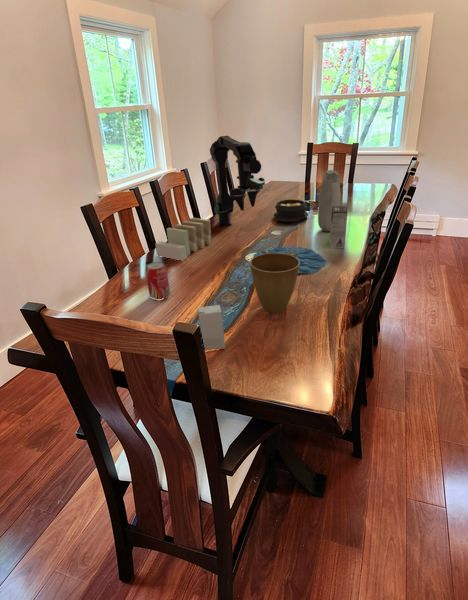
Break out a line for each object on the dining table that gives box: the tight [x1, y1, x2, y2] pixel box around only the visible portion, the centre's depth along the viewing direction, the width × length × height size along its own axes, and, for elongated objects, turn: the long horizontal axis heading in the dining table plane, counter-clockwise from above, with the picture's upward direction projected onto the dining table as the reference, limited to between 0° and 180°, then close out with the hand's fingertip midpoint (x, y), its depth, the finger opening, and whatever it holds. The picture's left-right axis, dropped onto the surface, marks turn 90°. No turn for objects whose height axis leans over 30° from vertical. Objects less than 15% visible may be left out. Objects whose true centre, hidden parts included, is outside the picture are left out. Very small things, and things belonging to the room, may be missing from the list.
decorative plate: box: [252, 245, 327, 274], centre depth 161 cm, size 30×30×5 cm
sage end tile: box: [166, 227, 191, 257], centre depth 173 cm, size 2×10×11 cm, turn 58°
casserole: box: [273, 199, 309, 223], centre depth 213 cm, size 25×19×8 cm
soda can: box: [145, 261, 171, 299], centre depth 136 cm, size 7×7×12 cm
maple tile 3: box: [174, 223, 199, 253], centre depth 177 cm, size 2×10×11 cm, turn 58°
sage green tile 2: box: [182, 220, 206, 249], centre depth 181 cm, size 2×10×11 cm, turn 58°
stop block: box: [155, 241, 188, 262], centre depth 170 cm, size 3×14×6 cm, turn 58°
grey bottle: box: [317, 169, 342, 232], centre depth 187 cm, size 10×10×28 cm
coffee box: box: [329, 205, 348, 249], centre depth 172 cm, size 9×6×16 cm
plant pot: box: [249, 253, 300, 314], centre depth 124 cm, size 15×15×16 cm
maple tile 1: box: [189, 217, 213, 245], centre depth 185 cm, size 2×10×11 cm, turn 58°
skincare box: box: [197, 304, 226, 351], centre depth 106 cm, size 6×4×12 cm
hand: (247, 208), depth 183 cm, fingers open, 9 cm apart
